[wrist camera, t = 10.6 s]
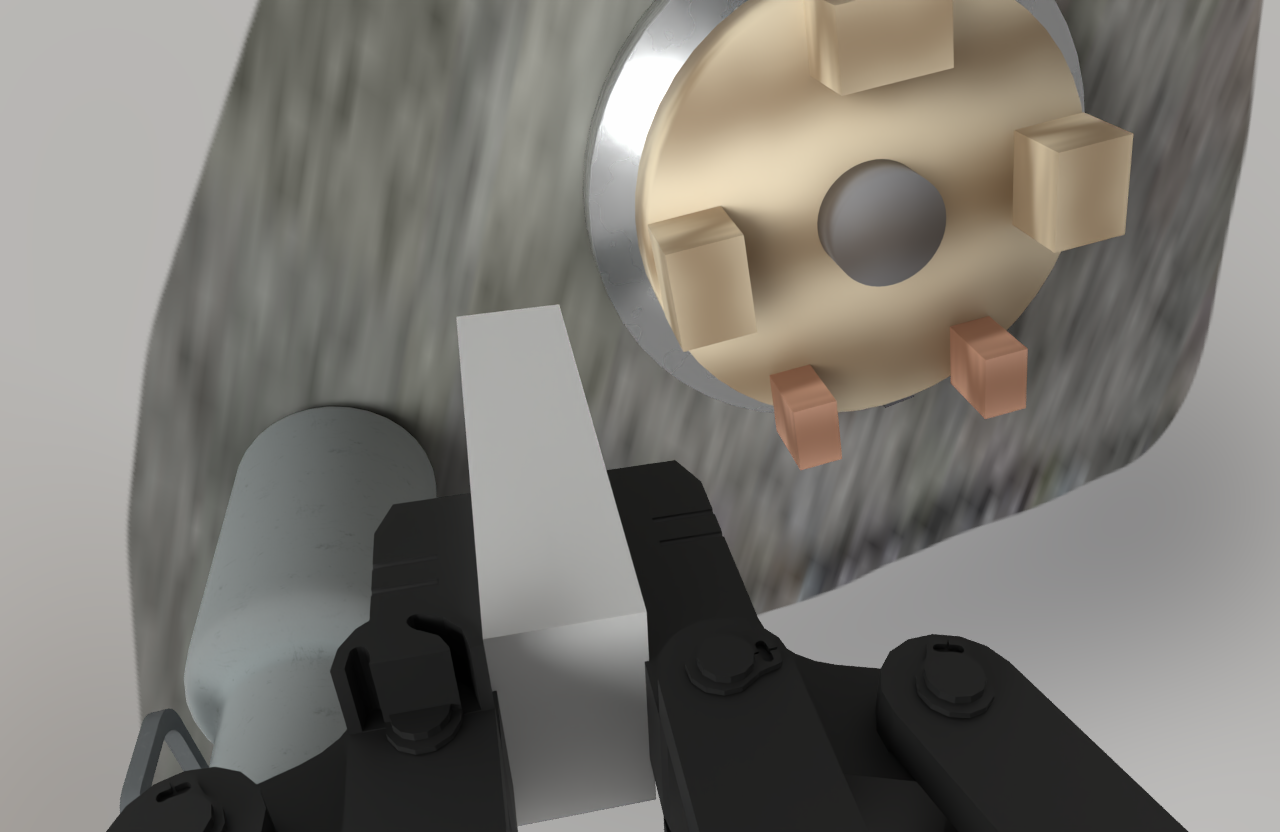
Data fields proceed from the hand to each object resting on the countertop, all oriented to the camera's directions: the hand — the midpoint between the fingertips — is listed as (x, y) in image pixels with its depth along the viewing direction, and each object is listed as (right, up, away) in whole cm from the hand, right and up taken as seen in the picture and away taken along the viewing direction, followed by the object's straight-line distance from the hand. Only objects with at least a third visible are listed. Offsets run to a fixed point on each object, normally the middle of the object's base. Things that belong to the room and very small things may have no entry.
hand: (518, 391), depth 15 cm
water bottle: (-14, -4, +36) cm, 39 cm away
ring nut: (+11, +10, +31) cm, 34 cm away
